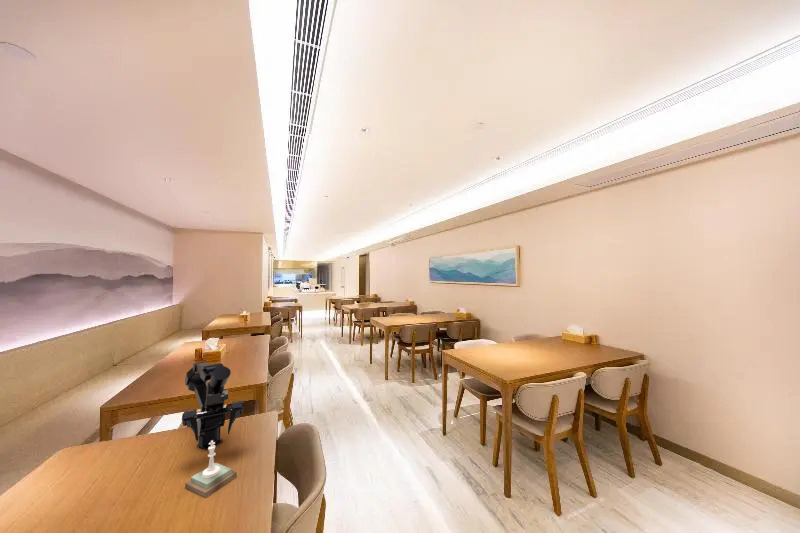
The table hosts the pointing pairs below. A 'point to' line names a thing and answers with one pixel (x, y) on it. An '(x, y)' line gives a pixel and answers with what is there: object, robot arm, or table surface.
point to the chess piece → (211, 463)
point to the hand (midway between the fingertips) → (213, 437)
